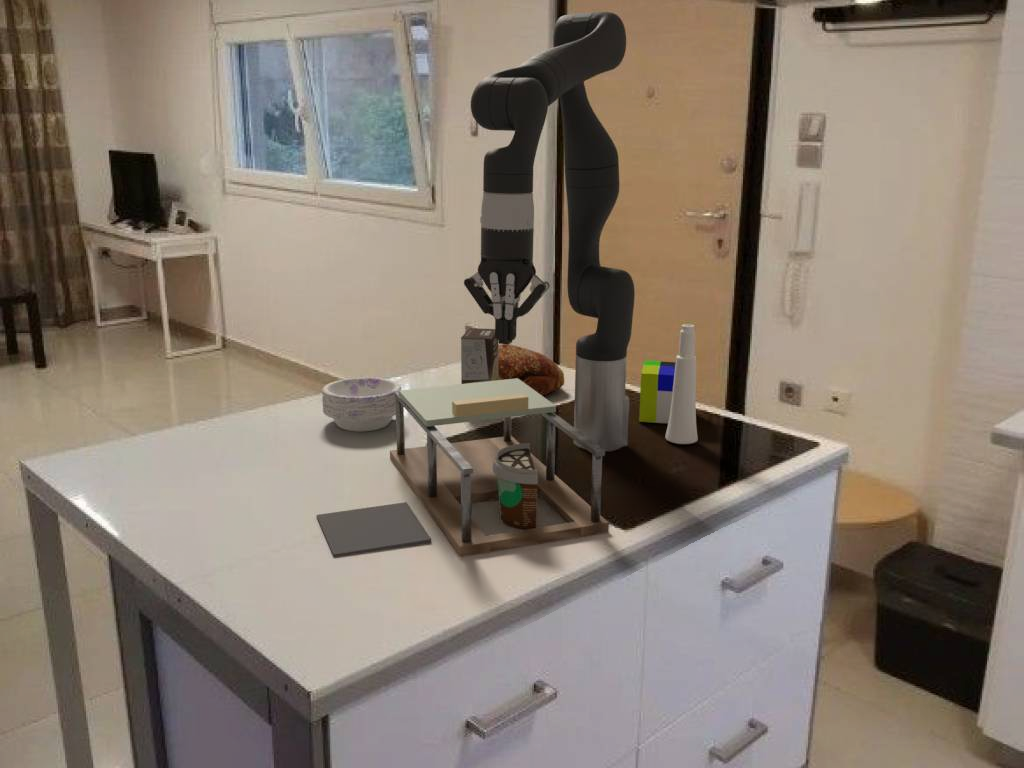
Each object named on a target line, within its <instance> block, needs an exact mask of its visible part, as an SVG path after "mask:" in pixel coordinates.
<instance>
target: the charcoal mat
mask: <svg viewBox="0 0 1024 768" xmlns="http://www.w3.org/2000/svg"><path fill="white" fill-rule="evenodd" d="M316 519H317V521H318V524H319V526H320V528H321V531H322V533H323V535H324V538H325V540H326V542H327V545H328V546H329V549H330V551H331V554H332V557H333V558H338V557H343V556H345V557H346V556H350V555H358V554H364V553H372V552H378V551H385V550H390V549H398V548H404V547H411V546H417V545H425V544H432V538H431V536H430V534H428V532H427V531H426V529H425V527H424V526H423V524H422V523H421V522H420V520H419V518H418V517H417V516H416V514H415V513H414V511H413V509H412V508H411V507H410V505H409V504H408V502H407V501H404V502H398V503H390V504H384V505H378V506H370V507H362V508H357V509H348V510H343V511H342V510H341V511H335V512H329V513H319V514H316Z"/></svg>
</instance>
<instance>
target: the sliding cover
mask: <svg viewBox="0 0 1024 768" xmlns="http://www.w3.org/2000/svg"><path fill="white" fill-rule="evenodd" d="M399 397H400V398H401V399H402V400H403V401H404V402H405V403H406V405H407V406H408V407H409V408H410V409H411V410H412V411H413V412H414V414H415V415H416V416H417V417H418V418H419V419H420V420H421V421H422V423H423V424H424V425H425V426H426V427H429V426H435V427H436V426H444V425H453V424H462V423H470V422H478V421H479V422H480V421H487V420H496V419H504V418H507V417H511V418H513V417H515V418H516V417H522V416H524V417H525V416H531V415H541V414H542V413H550V412H554V413H557V406H556V405H555V403H553V402H552V401H550V400H548V398H546V397H544V395H540V394H539V393H537V392H536V391H535V390H533V389H532V388H531V387H529V386H528V385H526V384H525V383H524V382H522V381H521V380H519V379H518V378H516V379H506V380H496V381H486V382H477V383H467V384H461V383H458V384H448V385H437V386H428V387H427V386H426V387H420V388H418V387H417V388H409V389H401V390H399Z"/></svg>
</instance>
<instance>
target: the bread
mask: <svg viewBox="0 0 1024 768" xmlns="http://www.w3.org/2000/svg"><path fill="white" fill-rule="evenodd" d="M516 378H518V379H519V380H521V381H522V382H524V383H525V384H526V385H528V386H529V387H531V388H532V389H533V390H535V391H536V392H537V393H539V394H540V395H542V396H545V395H549V394H550V393H552V392H555V391H558V390H560V389H561V388H562V387H563V386H565V385H564V384H565V373H564V371H563V369H561V367H559V366H558V364H557V363H556V362H554V361H553V360H552V359H550V358H549V357H547V356H546V355H544V354H543V353H540V352H537V351H535V350H531V349H528V348H525V347H521V346H517V345H514V344H509V345H508V344H498V380H506V379H516Z"/></svg>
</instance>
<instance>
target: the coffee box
mask: <svg viewBox="0 0 1024 768" xmlns="http://www.w3.org/2000/svg"><path fill="white" fill-rule="evenodd" d="M498 345H499V340H497V339H496V337H495V328H469V329H468V330H467V331H466V332H465V333H464V334H462V336H461V337H460V348H461V349H460V351H461V353H460V357H461V359H460V360H461V361H460V363H461V364H460V366H461V367H460V368H461V372H460V373H461V375H460V376H461V377H460V378H461V381H460V382H461V383H460V384H467V383H477V382H486V381H496V380H498Z"/></svg>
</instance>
